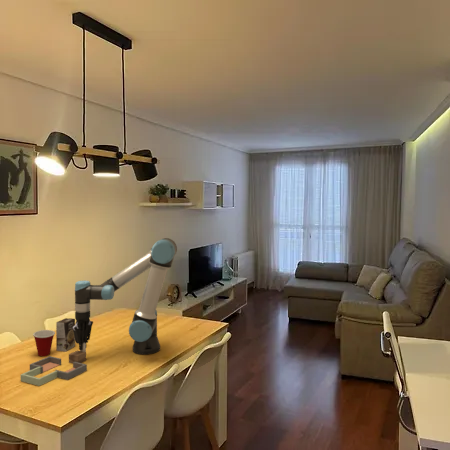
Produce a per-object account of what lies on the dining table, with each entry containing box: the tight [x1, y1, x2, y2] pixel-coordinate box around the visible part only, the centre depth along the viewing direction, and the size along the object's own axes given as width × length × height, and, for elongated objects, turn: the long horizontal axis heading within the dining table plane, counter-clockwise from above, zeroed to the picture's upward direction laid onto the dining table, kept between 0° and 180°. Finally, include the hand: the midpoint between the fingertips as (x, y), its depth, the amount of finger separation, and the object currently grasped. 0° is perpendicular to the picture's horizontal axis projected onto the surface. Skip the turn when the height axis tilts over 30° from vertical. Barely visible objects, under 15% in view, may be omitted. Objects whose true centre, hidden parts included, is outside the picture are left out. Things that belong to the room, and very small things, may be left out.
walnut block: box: [68, 349, 87, 365], centre depth 204 cm, size 6×6×4 cm
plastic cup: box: [32, 329, 56, 357], centre depth 213 cm, size 11×11×12 cm
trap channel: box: [20, 355, 88, 387], centre depth 188 cm, size 25×22×3 cm
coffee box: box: [55, 317, 76, 352], centre depth 223 cm, size 9×6×16 cm
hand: (82, 355), depth 208 cm, fingers closed
